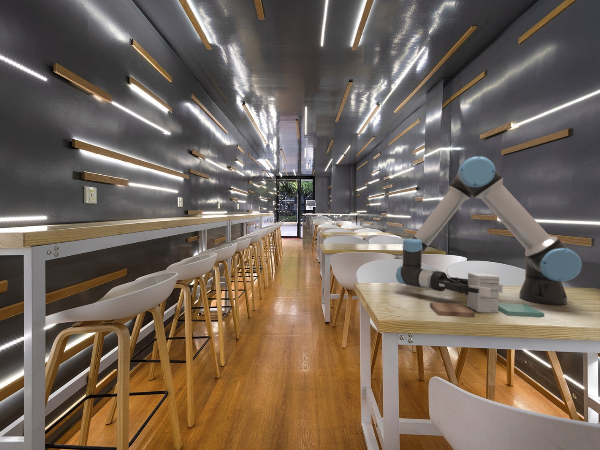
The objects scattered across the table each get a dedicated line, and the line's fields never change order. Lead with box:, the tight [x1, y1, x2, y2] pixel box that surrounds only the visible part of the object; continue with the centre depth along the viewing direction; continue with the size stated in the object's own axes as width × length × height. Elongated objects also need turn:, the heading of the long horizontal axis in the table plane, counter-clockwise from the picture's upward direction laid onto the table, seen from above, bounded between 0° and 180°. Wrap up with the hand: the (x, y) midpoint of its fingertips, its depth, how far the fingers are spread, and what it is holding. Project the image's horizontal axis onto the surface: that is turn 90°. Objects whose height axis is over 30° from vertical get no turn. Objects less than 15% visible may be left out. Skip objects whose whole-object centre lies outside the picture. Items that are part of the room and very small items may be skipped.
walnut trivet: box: [429, 302, 476, 318], centre depth 110 cm, size 11×11×2 cm
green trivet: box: [498, 302, 545, 318], centre depth 111 cm, size 11×11×2 cm
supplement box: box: [466, 271, 500, 314], centre depth 113 cm, size 7×7×13 cm
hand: (496, 290), depth 110 cm, fingers closed on supplement box, 10 cm apart
